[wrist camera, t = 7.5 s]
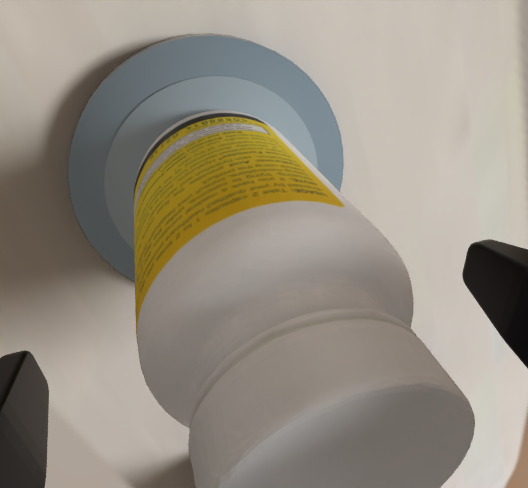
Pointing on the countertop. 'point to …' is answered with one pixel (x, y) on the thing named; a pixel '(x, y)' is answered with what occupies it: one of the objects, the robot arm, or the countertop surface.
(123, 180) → the dish
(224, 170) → the supplement bottle
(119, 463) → the countertop surface
